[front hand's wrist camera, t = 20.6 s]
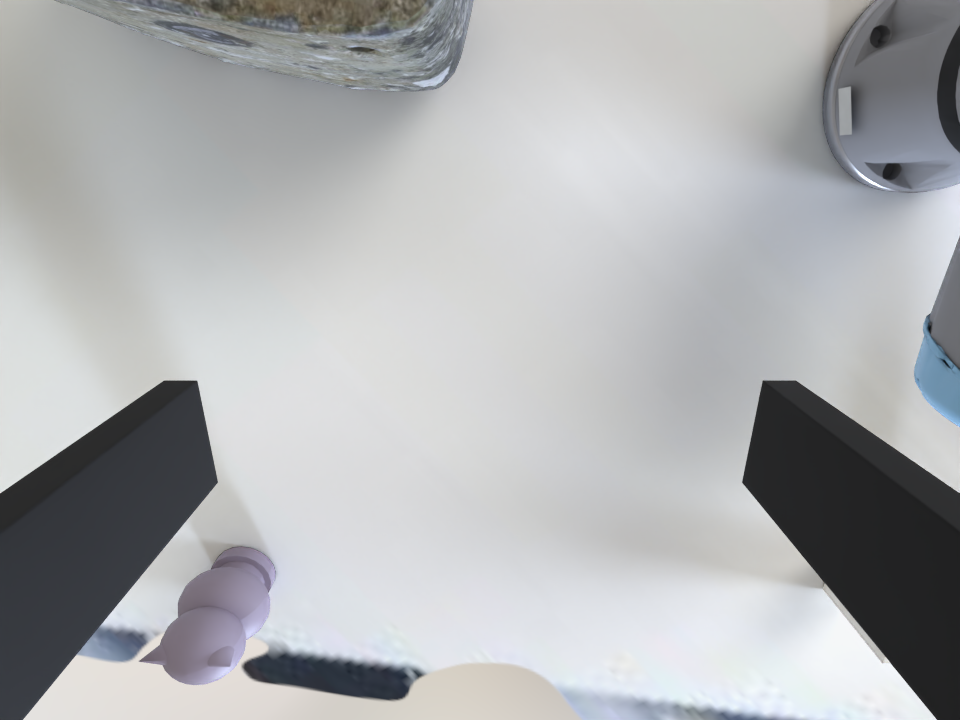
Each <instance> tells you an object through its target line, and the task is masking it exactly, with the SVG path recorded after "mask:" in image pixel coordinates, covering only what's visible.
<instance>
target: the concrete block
mask: <svg viewBox="0 0 960 720" xmlns="http://www.w3.org/2000/svg"><path fill="white" fill-rule="evenodd" d="M55 1H58V2H60V3H64V4H68V5H71V6H73V7H76V8H79V9H81V10H84V11H86V12H89V13H92V14H94V15H97V16H99V17H102V18H105V19H107V20H110V21H112V22H114V23H117V24H119V25H122V26H124V27H127V28H129V29H132V30H135V31H138V32H141V33H142V34H145V35H149V36H152V37H154V38H157V39H160V40H163V41H166V42H169V43H172V44H175V45H178V46H180V47H184V48H187V49H190V50H193V51H196V52H199V53H202V54H205V55H208V56H211V57H214V58H217V59H220V60H222V61H223V62H229V63H232V64H237V65H243V66H247V67H253V68H258V69H262V70H267V71H272V72H277V73H281V74H286V75H290V76H295V77H300V78H305V79H310V80H315V81H320V82H325V83H330V84H334V85H338V86H343V87H347V88H351V89H361V90H364V89H368V90H381V91H424V90H433V89H436V88H439V87H440V86H442V85H443V84H444V83H446V82H447V81H448V79H449V78H450V77H451V76H452V75H453V74H454V72H455V70H456V68H457V65H458V63H459V60H460V57H461V54H462V50H463V47H464V42H465V38H466V33H467V29H468V24H469V20H470V15H471V11H472V6H473V0H55Z"/></svg>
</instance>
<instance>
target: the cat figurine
mask: <svg viewBox="0 0 960 720" xmlns="http://www.w3.org/2000/svg"><path fill="white" fill-rule="evenodd" d="M275 574H276V571H275V568H274V565H273V563H272V562H271V561H270V560H269V558H268V557H267V556H265V555H264V554H263V553H261V552H260V551H257V550H255V549H252V548H247V547H234V548H231V549H228V550H226V551H224V552H223V553H222V554H221V555H220V556H219V557H218V558H217V560H216V561H215V563H214V564H213V566H212V568H211V570H209V571H206V572H204V573H201V574H200V575H198V576H197V577H196V578H194V579H193V580H192V581H191V582H189V583H188V584H187V586H186V587H185V589H184V591H183V593H182V595H181V596H180V598H179V602H178V618H177V619H176V620H175V621H174V622H172V623H171V624H170V626H169V627H168V628H167V630H166V632H165V634H164V636H163V638H162V640H161V643H160V645H159V646H158V647H157V648H155V649H154V650H153V651H151V652H150V653H149V654H148V655H146V656H145V657H144V658H142V659H141V660H140V661H139V662H146V663H153V664H160V665H163V667H164V669H165V671H166V672H167V673H168V674H169V675H170V676H171V677H172V678H174V679H175V680H177V681H179V682H182V683H185V684H191V685H201V684H207V683H211V682H214V681H216V680H219V679H221V678H222V677H223V676H225V675H226V674H228V673H229V672H230V671H231V670H233V669H234V668H235V666H236V665H237V663H238V662H239V660H240V659H241V657H242V655H243V653H244V650H245V645H246V640H247V639H249V638H250V637H251V636H253V635H254V634H255V633H257V632H258V631H259V630H260V629H261V627H262V626H263V624H264V622H265V621H266V619H267V617H268V615H269V610H270V597H269V594H268V592H269V590H270V588H271V586H272V584H273V582H274V580H275Z"/></svg>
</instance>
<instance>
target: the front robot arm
mask: <svg viewBox="0 0 960 720" xmlns="http://www.w3.org/2000/svg"><path fill="white" fill-rule="evenodd" d="M823 121H824V128H825V134H826V137H827V141H828V144H829V146H830V148H831V151H832V153H833V154H834V156H835V158H836V160H837V161H838V162H839V164H840V165H841V166H842V168H843V169H844V170H845V171H846V172H847V173H848V174H850V175H851V176H852V177H853V178H855V179H856V180H858V181H859V182H861V183H863V184H865V185H867V186H870V187H873V188H876V189H880V190H885V191H894V192H925V191H931V190H937V189H942V188H947V187H950V186H953V185H956V184H959V183H960V0H876V1H874V2H873V3H872V4H871V5H870V6H869V7H868V8H867V9H866V10H865V12H864V13H863V14H862V15H861V16H860V17H859V18H858V20H857V21H856V22H855V23H854V25H853V26H852V27H851V29H850V30H849V32H848V33H847V35H846V36H845V38H844V40H843V42H842V43H841V45H840V47H839V49H838V51H837V53H836V55H835V58H834V60H833V63H832V65H831V68H830V71H829V74H828V78H827V81H826V86H825V91H824V100H823ZM923 332H924V338H923V341H922V345H921V348H920V351H919V355H918V358H917V361H916V365H915V369H914V376H915V382H916V383H917V385H918V387H919V389H920V390H921V392H922V395H923V397H924V398H925V399H926V400H927V402H928V403H929V404H930V405H931V406H932V407H933V408H934V409H936V410H937V411H938V412H939V413H940V414H942V415H943V416H944V417H946V418H947V419H948V420H950V421H951V422H953V423H954V424H956V425H957V426H959V427H960V237H959V240H958V243H957V245H956V248H955V250H954V253H953V256H952V258H951V261H950V264H949V266H948V269H947V272H946V274H945V277H944V280H943V282H942V285H941V288H940V290H939V293H938V296H937V298H936V301H935V304H934V306H933V309H932V312H931V313H930V314H929V315H928V316H927V317H926V319H925V321H924V324H923ZM217 483H218V481H217V476H216V471H215V466H214V461H213V456H212V451H211V446H210V441H209V437H208V432H207V427H206V422H205V417H204V412H203V407H202V402H201V397H200V392H199V387H198V382H197V381H163V382H162V383H160V384H159V385H157V386H156V387H154V388H153V389H151V390H150V391H148V392H147V393H146V394H144V395H143V396H141V397H140V398H138V399H137V400H135V401H134V402H132V403H131V404H130V405H128V406H127V407H125V408H124V409H122V410H121V411H119V412H118V413H117V414H115V415H114V416H112V417H111V418H109V419H108V420H106V421H105V422H103V423H102V424H101V425H99V426H98V427H96V428H95V429H93V430H92V431H90V432H89V433H87V434H86V435H85V436H83V437H82V438H80V439H79V440H77V441H76V442H74V443H73V444H71V445H70V446H69V447H67V448H66V449H64V450H63V451H61V452H60V453H58V454H57V455H56V456H54V457H53V458H51V459H50V460H48V461H47V462H45V463H44V464H42V465H41V466H40V467H38V468H37V469H35V470H34V471H32V472H31V473H29V474H28V475H26V476H25V477H24V478H22V479H21V480H19V481H18V482H16V483H15V484H13V485H12V486H10V487H9V488H8V489H6V490H5V491H3V492H2V493H0V720H23V719H24V718H25V716H26V715H27V714H28V713H29V712H30V710H31V709H32V708H33V707H34V705H35V704H36V703H37V702H38V701H39V699H40V698H41V697H42V696H43V695H44V693H45V692H46V691H47V690H48V688H49V687H50V686H51V685H52V684H53V682H54V681H55V680H56V679H57V677H58V676H59V675H60V674H61V673H62V671H63V670H64V669H65V668H66V667H67V665H68V664H69V663H70V662H71V660H72V659H73V658H74V657H75V656H76V654H77V653H78V652H79V651H80V650H81V648H82V647H83V646H84V645H85V643H86V642H87V641H88V640H89V639H90V637H91V636H92V635H93V634H94V632H95V631H96V630H97V629H98V628H99V626H100V625H101V624H102V623H103V622H104V620H105V619H106V618H107V617H108V615H109V614H110V613H111V612H112V611H113V609H114V608H115V607H116V606H117V604H118V603H119V602H120V601H121V600H122V598H123V597H124V596H125V595H126V594H127V592H128V591H129V590H130V589H131V587H132V586H133V585H134V584H135V583H136V581H137V580H138V579H139V578H140V576H141V575H142V574H143V573H144V572H145V570H146V569H147V568H148V567H149V566H150V564H151V563H152V562H153V561H154V559H155V558H156V557H157V556H158V555H159V553H160V552H161V551H162V550H163V548H164V547H165V546H166V545H167V544H168V542H169V541H170V540H171V539H172V538H173V536H174V535H175V534H176V533H177V531H178V530H179V529H180V528H181V527H182V525H183V524H184V523H185V522H186V520H187V519H188V518H189V517H190V516H191V514H192V513H193V512H194V511H195V510H196V508H197V507H198V506H199V505H200V503H201V502H202V501H203V500H204V499H205V497H206V496H207V495H208V494H209V492H210V491H211V490H212V489H213V488H214V486H215V485H216V484H217ZM742 483H743V484H744V485H745V486H746V488H747V489H748V490H749V491H750V492H751V494H752V495H753V496H754V497H755V499H756V500H757V501H758V502H759V503H760V505H761V506H762V507H763V508H764V510H765V511H766V512H767V513H768V514H769V516H770V517H771V518H772V519H773V520H774V522H775V523H776V524H777V525H778V527H779V528H780V529H781V530H782V531H783V533H784V534H785V535H786V536H787V538H788V539H789V540H790V541H791V542H792V544H793V545H794V546H795V547H796V548H797V550H798V551H799V552H800V553H801V555H802V556H803V557H804V558H805V559H806V561H807V562H808V563H809V564H810V566H811V567H812V568H813V569H814V570H815V572H816V573H817V574H818V575H819V576H820V578H821V579H822V580H823V581H824V583H825V584H826V585H827V586H828V587H829V589H830V590H831V591H832V592H833V594H834V595H835V596H836V597H837V598H838V600H839V601H840V602H841V603H842V604H843V606H844V607H845V608H846V609H847V611H848V612H849V613H850V614H851V615H852V617H853V618H854V619H855V620H856V622H857V623H858V624H859V625H860V626H861V628H862V629H863V630H864V631H865V632H866V634H867V635H868V636H869V637H870V639H871V640H872V641H873V642H874V643H875V645H876V646H877V647H878V648H879V650H880V651H881V652H882V653H883V654H884V656H885V657H886V658H887V659H888V660H889V662H890V663H891V664H892V665H893V667H894V668H895V669H896V670H897V671H898V673H899V674H900V675H901V676H902V678H903V679H904V680H905V681H906V682H907V684H908V685H909V686H910V687H911V688H912V690H913V691H914V692H915V693H916V695H917V696H918V697H919V698H920V699H921V701H922V702H923V703H924V704H925V706H926V707H927V708H928V709H929V710H930V712H931V713H932V714H933V715H934V716H935V718H936V719H937V720H960V493H958V492H957V491H955V490H954V489H952V488H951V487H950V486H948V485H947V484H945V483H944V482H942V481H941V480H939V479H938V478H936V477H935V476H934V475H932V474H931V473H929V472H928V471H926V470H925V469H923V468H922V467H920V466H919V465H918V464H916V463H915V462H913V461H912V460H910V459H909V458H907V457H906V456H904V455H903V454H902V453H900V452H899V451H897V450H896V449H894V448H893V447H891V446H890V445H889V444H887V443H886V442H884V441H883V440H881V439H880V438H878V437H877V436H875V435H874V434H873V433H871V432H870V431H868V430H867V429H865V428H864V427H862V426H861V425H859V424H858V423H857V422H855V421H854V420H852V419H851V418H849V417H848V416H846V415H845V414H843V413H842V412H841V411H839V410H838V409H836V408H835V407H833V406H832V405H830V404H829V403H828V402H826V401H825V400H823V399H822V398H820V397H819V396H817V395H816V394H814V393H813V392H812V391H810V390H809V389H807V388H806V387H804V386H803V385H801V384H800V383H798V382H797V381H763V382H762V387H761V392H760V397H759V402H758V407H757V412H756V417H755V422H754V427H753V432H752V437H751V441H750V446H749V451H748V456H747V461H746V466H745V471H744V476H743V481H742Z"/></svg>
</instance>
